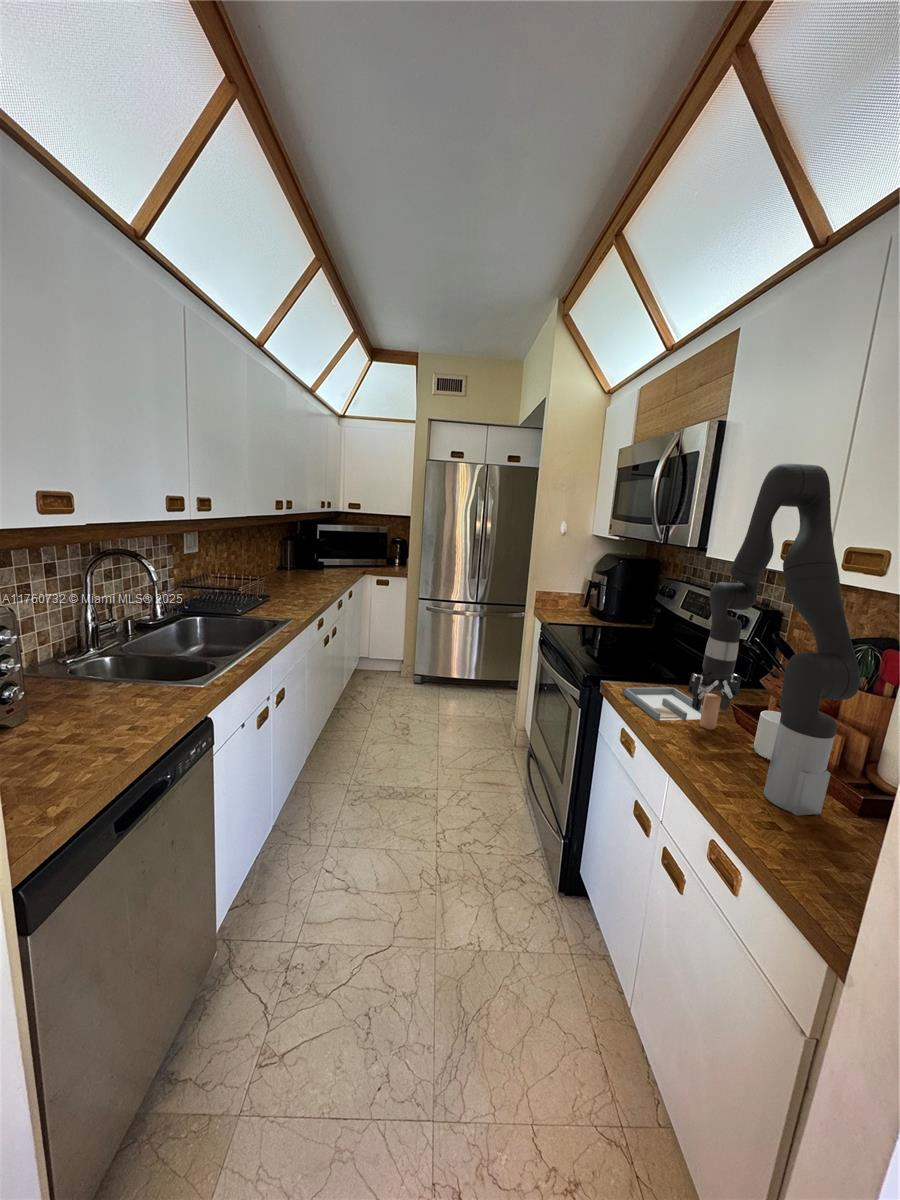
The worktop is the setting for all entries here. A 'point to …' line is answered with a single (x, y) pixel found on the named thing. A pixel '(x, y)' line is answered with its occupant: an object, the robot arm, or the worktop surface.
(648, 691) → the grey shallow tray
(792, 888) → the worktop surface
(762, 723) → the cup
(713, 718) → the peg
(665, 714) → the pad
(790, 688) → the robot arm
